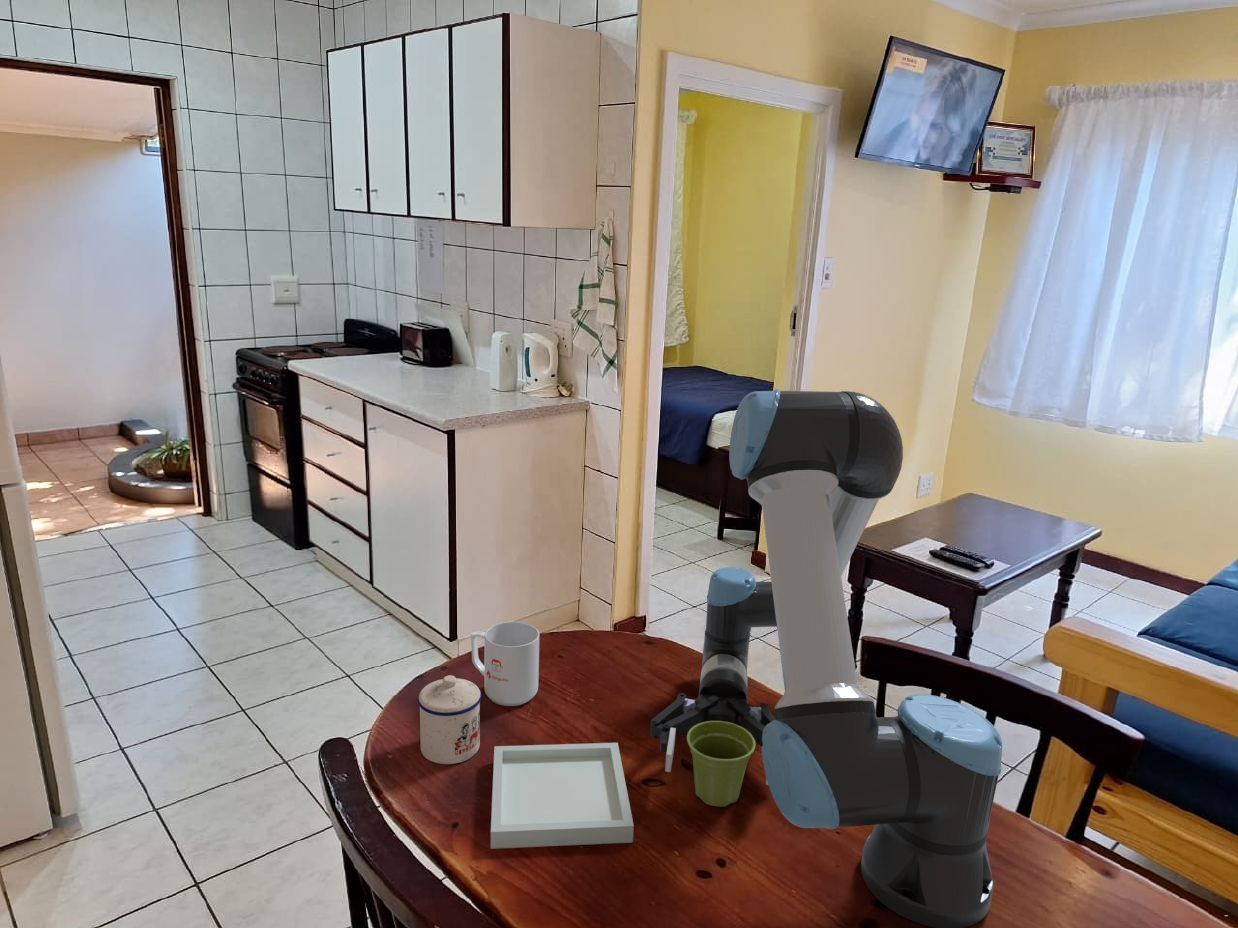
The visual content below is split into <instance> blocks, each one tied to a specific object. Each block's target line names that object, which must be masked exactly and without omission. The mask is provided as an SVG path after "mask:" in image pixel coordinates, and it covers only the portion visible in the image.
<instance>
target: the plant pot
mask: <svg viewBox="0 0 1238 928" xmlns="http://www.w3.org/2000/svg"><path fill="white" fill-rule="evenodd" d="M686 734H687V735H686V741H687V745H688V746H689V749H690V753H691V755H692V756H691V757H692V767H693V777H694V789H695V791H694V793H695V795H696V796H697V797H698V798H699V799H700V800H701V801H702V802H703V803H704V804H706V805H708V806H713V807H719V808H720V807H721V808H722V807H727V806H728V805H730V804H732V803H734V804H735V803H736V802H737V801H738V800H739V797H740V793H741V788H742V785H743V781H744V776H745V772H746V769H747V765H748V762H749V761H750V758H751V755H753V753H754V752H755V750H756V749H755V748H756V742H755V739H754V738H753V736H752V735H751V733H750V732H748V731H747V730H746V729H744V728H743V727H741V726H738V725H736V724H733V723H730V722H724V721H706V722H702V723H699V724H697V725H695V726H693V727H692V728H691V729H690V730H689V732H688V733H686Z"/></svg>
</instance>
